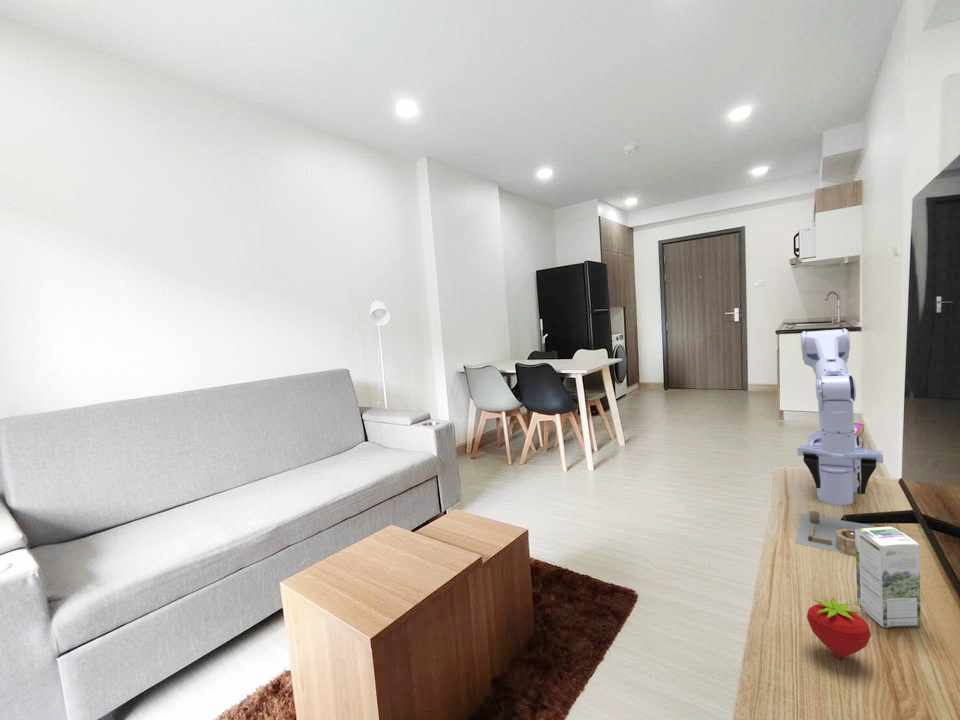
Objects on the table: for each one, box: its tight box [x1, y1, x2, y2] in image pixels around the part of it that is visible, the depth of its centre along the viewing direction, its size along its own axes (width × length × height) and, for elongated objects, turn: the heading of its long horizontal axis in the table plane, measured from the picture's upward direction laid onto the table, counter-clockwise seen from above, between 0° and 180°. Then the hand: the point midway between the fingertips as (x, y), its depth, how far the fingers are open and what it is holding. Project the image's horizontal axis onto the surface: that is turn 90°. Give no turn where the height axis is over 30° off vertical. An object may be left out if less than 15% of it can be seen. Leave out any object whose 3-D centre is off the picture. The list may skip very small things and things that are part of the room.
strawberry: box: [806, 597, 872, 659], centre depth 67 cm, size 6×8×10 cm
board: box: [794, 510, 876, 554], centre depth 97 cm, size 15×13×3 cm
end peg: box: [846, 530, 855, 539], centre depth 91 cm, size 2×2×4 cm
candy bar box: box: [852, 422, 866, 495], centre depth 118 cm, size 11×5×16 cm, turn 134°
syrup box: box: [855, 526, 922, 629], centre depth 73 cm, size 6×6×14 cm
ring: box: [836, 529, 856, 556], centre depth 91 cm, size 5×5×3 cm
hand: (840, 489), depth 98 cm, fingers open, 7 cm apart
